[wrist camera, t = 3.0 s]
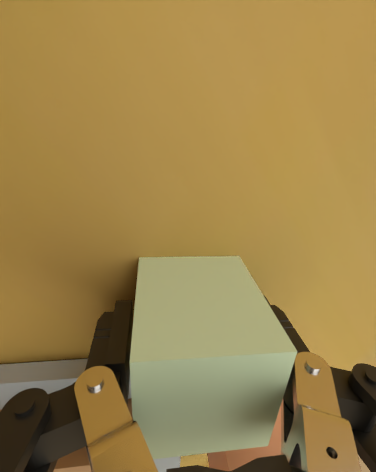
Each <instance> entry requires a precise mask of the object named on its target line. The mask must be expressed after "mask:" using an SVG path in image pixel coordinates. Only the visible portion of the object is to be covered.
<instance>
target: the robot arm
mask: <svg viewBox="0 0 376 472" xmlns="http://www.w3.org/2000/svg"><path fill="white" fill-rule="evenodd" d="M263 296H264V295H263ZM264 297H265V296H264ZM265 299H266V297H265ZM266 301H267V302H268V300H267V299H266ZM268 304H269V306H270V307H271V309H272V311H273V312H274V314H275V316H276V317H277V319H278V320H279V322H280V324H281V325H282V327H283V329H284V330H285V332H286V334H287V335H288V337H289V339H290V340H291V342H292V343H293V345H294V347H295V348H296V350H297V354H296V358H295V361H294V364H293V367H292V371H291V374H290V377H289V380H288V383H287V387H286V390H285V393H284V396H283V399H282V403H281V455H276V456H268V457H260V458H256V459H254V460H252V461H250V462H248V463H246V464H244V465H242V466H240V467H238V468H236V469H234V470H232V471H224V470H219V469H214V468H208V467H203V466H198V465H195V466H187V467H179V468H171V469H166V472H362V470H361V466H360V462H359V457H358V455H359V456H360V458H361V459H362V460H363V462H364V463H365V464H366V465H367V467H368V468H369V470H370V471H371V472H376V367H374V366H371V365H368V364H356V365H355V366H354V367H353V369H352V371H347V370H342V369H337V368H333V367H330V366H329V365H328V363H327V362H326V361H325V360H324V359H323V358H321V357H320V356H318V355H316V354H314V353H310V351H309V350H308V348H307V347H306V345H305V344H304V342H303V341H302V339H301V338H300V336H299V335H298V333H297V332H296V330H295V329H294V328H293V326H292V324H291V323H290V321H289V320H288V318H287V317H286V315H285V314H284V312H283V311H282V310H280V309H279V308H278V307H277V306H275V305H270V303H269V302H268ZM132 330H133V305H132V300H117V301H116V305H115V310H114V312H104V313H103V315H102V316H101V317H100V318H99V319H98V322H97V326H96V331H95V333H94V339H93V341H92V345H91V349H90V353H89V357H88V361H87V364H86V368H85V371H84V372H83V373H82V374H81V375H80V376H79V377H78V379H77V380H76V382H74V383H73V384H72V385H70V386H68V387H66V388H63V389H61V390H58V391H55V392H52V393H50V394H47V392H46V391H44V390H43V389H40V388H29V389H26V390H23V391H21V392H19V393H17V394H16V395H15V396H13V397H12V398H11V399H10V400H9V401H8V402H7V403H6V404H5V405H4V407H3V408H2V410H1V411H0V472H53V471H54V468H55V466H56V463H57V461H58V459H59V458H62V457H64V456H66V455H68V454H70V453H72V452H74V451H77V450H79V449H81V448H83V447H85V446H86V451H87V455H88V459H89V463H90V468H91V472H158V470H157V468H156V465H155V463H154V461H153V458H152V456H151V453H150V451H149V448H148V446H147V444H146V441H145V439H144V436H143V434H142V432H141V429H140V427H139V425H138V423H137V422H136V421H133V419H132V417H131V415H130V412H129V410H128V407H127V405H126V404H128V394H129V382H130V352H131V341H132Z"/></svg>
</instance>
